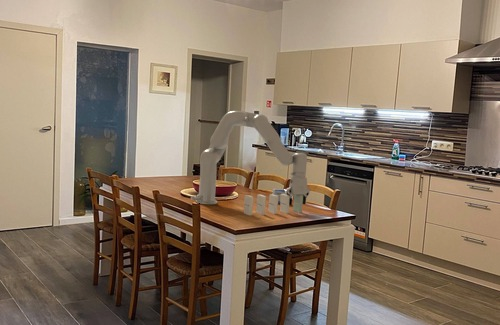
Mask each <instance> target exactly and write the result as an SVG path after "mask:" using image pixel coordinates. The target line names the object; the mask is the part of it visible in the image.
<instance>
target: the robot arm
mask: <svg viewBox="0 0 500 325" xmlns="http://www.w3.org/2000/svg"><path fill="white" fill-rule="evenodd" d="M235 126H238V127H247V128H253V129H255V130H256V131H257V133H258V134H259V135H260V137H261V138H262V140H263V141H264V142H265V144H266V145H267V146H268V148H269V149H270V151H271V152H272V154H273V155H274V156H275V158H276V159H277V161H278V162H279V163H280V164H281V165H282V166H289V165H292V172H291V173H290V175H291V177H290V181H289V185H288V186H289V187H287V188H285V189H286V190H285V193H286V195H289V196H290V197H289V206H293V203H292V202H293V197H294V195H303V204H302V205H306V203H307V202H306V201H307V198H308V196H309V194H310V192H311V189H310V188H309V187H308V180H307V179H308V178H307V177H306V173H307V161H308V154H307V153H305V152H304V153H303V152H293V151H289V150H288V149H287V148H286V146H285V145H284V143H283V142H282V140H281V138H280V135H279V134H278V132H277V131H276V129H275V128H274V127H273V125H272V124H271V123H270V121H269V119H268V117H267V116H266V115H264V114H260V113H254V112H249V111H243V110H231V111H229V112H227V113H225V114H224V115H223V116H222V118H221V119H220V121H219V122H218V125H217V126H216V129H215V130H214V132H213V134H212V135H211V136H210V140H209V146H208V148H207V149H205V150H203V151H202V152H201V154H200V157H199V163H200V165H199V167H200V169H199V170H200V171H199V172H200V173H199V188H198V194H196V195H191V196H190V200H195V203H196V202H197V203H196V204H199V203H200V205H217V204H218V200H216V186H217V169H218V167H217V163H218V162H219V161H220V160H221V158H222V157H223V155H224V152H225V151H226V149H227V147H228V145H229V143H230V142H229V137H230V134H231V133H232V132H233V129H234V127H235Z"/></svg>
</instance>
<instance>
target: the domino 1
mask: <svg viewBox="0 0 500 325" xmlns="http://www.w3.org/2000/svg"><path fill="white" fill-rule="evenodd" d="M253 207H254V196H252V195H249V194H244V200H243V214H244V215H246V216H253V209H254V208H253Z"/></svg>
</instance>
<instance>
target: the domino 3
mask: <svg viewBox="0 0 500 325" xmlns="http://www.w3.org/2000/svg"><path fill="white" fill-rule="evenodd" d="M278 206H279V204H278V196H277V195H273V193H272V194H271V193H270V194H269V198H268V207H267V208H268V213H270V214H273V215H277V214H278Z"/></svg>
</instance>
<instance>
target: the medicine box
mask: <svg viewBox="0 0 500 325" xmlns="http://www.w3.org/2000/svg"><path fill="white" fill-rule="evenodd" d="M286 189H287V188H285V189H282V188H273V189H272V194H273V195H277V196H278V205H280V196H281V194H286V193H285V190H286Z"/></svg>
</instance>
